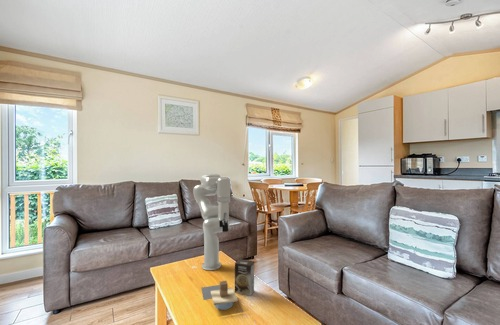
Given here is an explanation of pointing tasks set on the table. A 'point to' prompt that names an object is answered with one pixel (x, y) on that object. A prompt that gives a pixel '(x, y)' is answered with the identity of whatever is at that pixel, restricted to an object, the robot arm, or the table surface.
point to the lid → (223, 294)
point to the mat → (209, 291)
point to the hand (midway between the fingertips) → (223, 229)
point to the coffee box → (244, 277)
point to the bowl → (224, 306)
